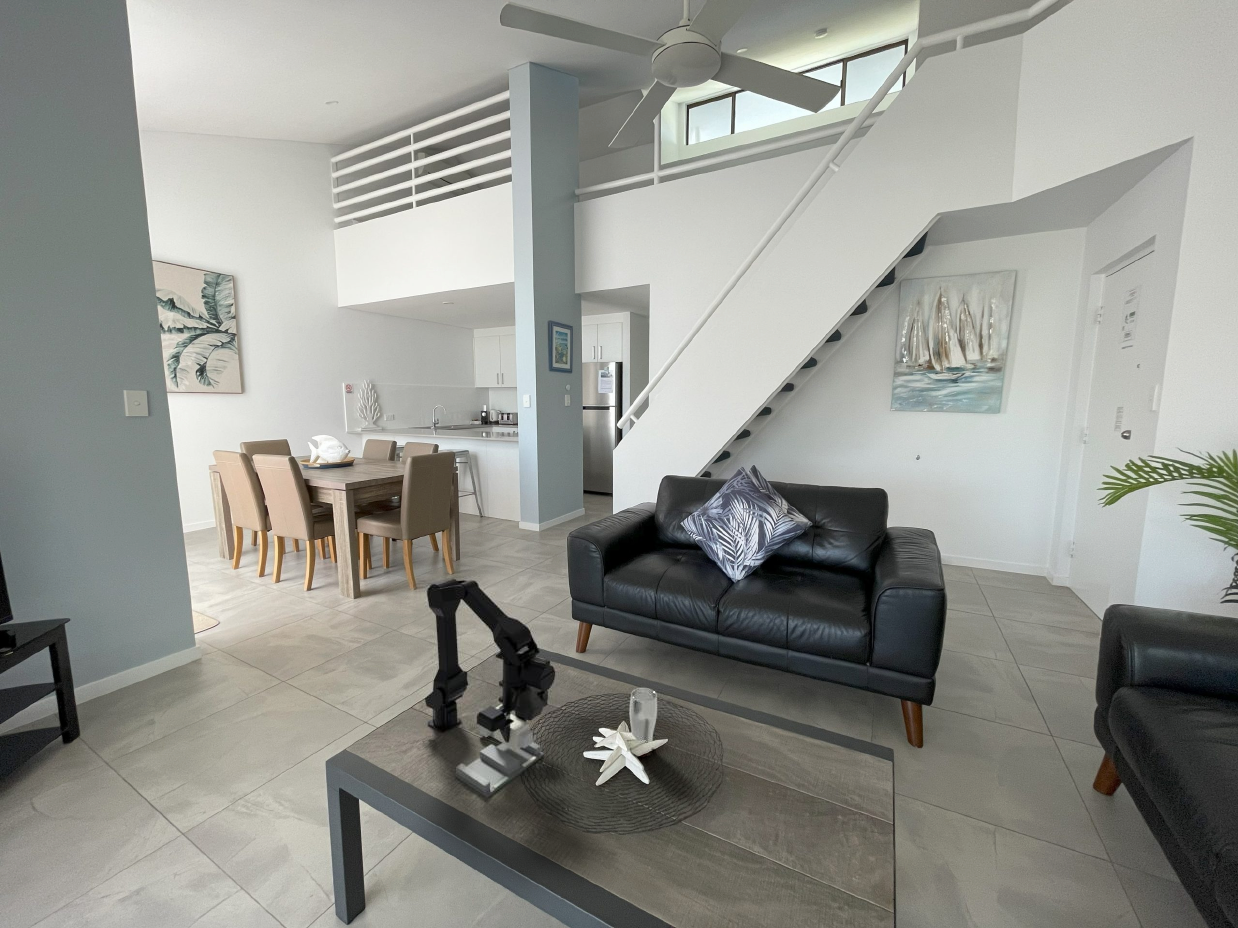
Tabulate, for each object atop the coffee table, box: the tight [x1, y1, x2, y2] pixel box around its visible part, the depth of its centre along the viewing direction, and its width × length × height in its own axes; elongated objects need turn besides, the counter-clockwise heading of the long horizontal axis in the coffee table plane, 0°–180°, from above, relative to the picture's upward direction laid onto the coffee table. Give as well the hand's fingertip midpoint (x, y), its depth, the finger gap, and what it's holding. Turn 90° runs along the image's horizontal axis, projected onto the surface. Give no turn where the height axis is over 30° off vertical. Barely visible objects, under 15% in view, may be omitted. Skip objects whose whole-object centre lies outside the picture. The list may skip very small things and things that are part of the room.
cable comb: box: [454, 741, 545, 799], centre depth 126 cm, size 11×18×2 cm, turn 145°
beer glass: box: [629, 687, 658, 742], centre depth 133 cm, size 7×7×15 cm
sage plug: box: [478, 703, 515, 739], centre depth 139 cm, size 10×4×5 cm, turn 145°
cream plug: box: [493, 714, 534, 751], centre depth 129 cm, size 10×4×5 cm, turn 54°
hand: (513, 737), depth 129 cm, fingers closed on cream plug, 4 cm apart
